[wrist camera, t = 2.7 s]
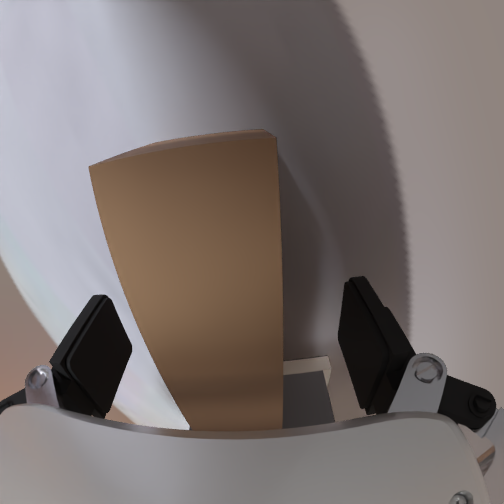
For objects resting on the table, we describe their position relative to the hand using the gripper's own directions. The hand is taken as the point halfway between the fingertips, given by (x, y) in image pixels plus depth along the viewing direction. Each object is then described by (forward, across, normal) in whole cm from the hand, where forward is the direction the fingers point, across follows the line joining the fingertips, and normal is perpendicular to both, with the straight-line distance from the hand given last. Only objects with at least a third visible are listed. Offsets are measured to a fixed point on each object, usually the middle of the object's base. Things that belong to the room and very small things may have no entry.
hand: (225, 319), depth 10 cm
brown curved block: (+2, 0, -1) cm, 2 cm away
